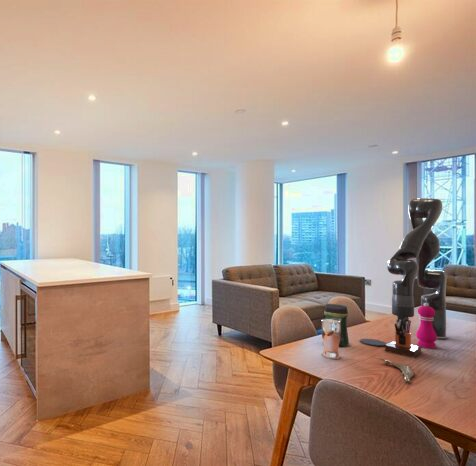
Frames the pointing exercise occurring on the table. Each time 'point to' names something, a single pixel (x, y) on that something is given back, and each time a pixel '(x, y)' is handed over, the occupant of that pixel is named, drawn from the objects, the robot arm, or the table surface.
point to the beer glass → (331, 338)
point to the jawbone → (403, 367)
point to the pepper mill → (426, 327)
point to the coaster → (373, 342)
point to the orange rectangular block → (408, 340)
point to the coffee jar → (338, 319)
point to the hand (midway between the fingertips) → (403, 343)
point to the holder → (403, 349)
